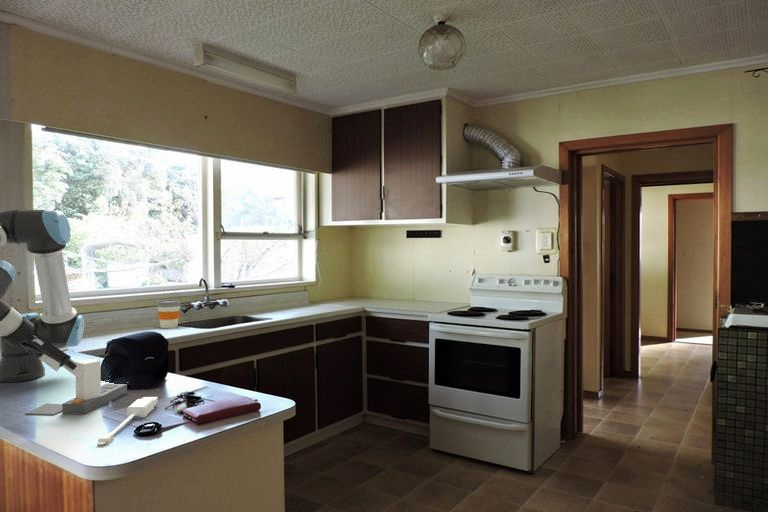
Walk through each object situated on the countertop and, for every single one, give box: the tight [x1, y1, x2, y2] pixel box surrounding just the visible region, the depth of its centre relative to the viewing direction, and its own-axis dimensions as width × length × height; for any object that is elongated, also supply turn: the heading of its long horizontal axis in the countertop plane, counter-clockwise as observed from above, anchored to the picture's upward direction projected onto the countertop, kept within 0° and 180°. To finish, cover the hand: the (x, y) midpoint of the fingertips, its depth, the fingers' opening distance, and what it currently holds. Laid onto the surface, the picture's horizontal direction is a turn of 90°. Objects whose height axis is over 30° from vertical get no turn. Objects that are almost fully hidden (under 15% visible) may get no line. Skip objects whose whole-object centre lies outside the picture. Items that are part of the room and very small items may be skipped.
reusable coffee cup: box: [156, 299, 181, 329], centre depth 308 cm, size 13×13×15 cm
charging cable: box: [96, 396, 159, 446], centre depth 150 cm, size 5×32×3 cm, turn 3°
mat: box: [24, 403, 63, 416], centre depth 162 cm, size 9×9×1 cm
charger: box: [75, 358, 102, 400], centre depth 165 cm, size 5×5×11 cm
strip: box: [61, 383, 128, 415], centre depth 173 cm, size 30×7×4 cm, turn 175°
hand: (70, 370), depth 160 cm, fingers open, 13 cm apart
